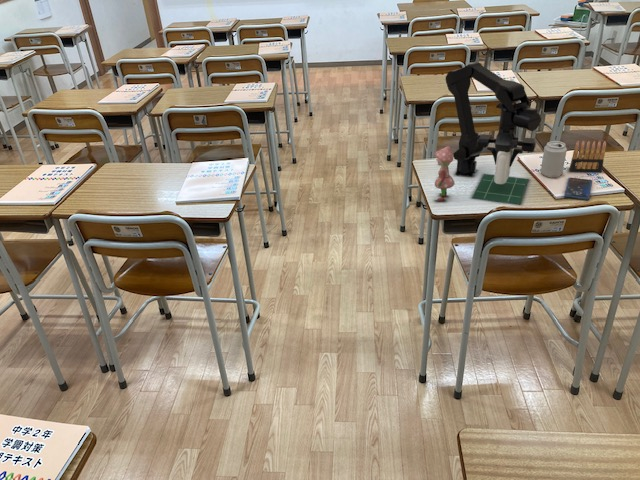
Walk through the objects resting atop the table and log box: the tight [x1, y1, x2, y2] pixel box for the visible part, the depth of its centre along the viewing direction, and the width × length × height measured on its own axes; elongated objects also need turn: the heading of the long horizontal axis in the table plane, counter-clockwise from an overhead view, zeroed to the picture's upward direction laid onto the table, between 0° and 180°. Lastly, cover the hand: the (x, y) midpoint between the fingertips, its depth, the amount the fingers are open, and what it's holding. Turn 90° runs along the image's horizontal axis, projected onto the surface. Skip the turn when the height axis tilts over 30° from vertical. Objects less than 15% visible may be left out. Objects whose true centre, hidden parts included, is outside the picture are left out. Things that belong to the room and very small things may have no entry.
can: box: [540, 140, 568, 178], centre depth 178 cm, size 8×8×12 cm
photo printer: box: [494, 148, 514, 184], centre depth 170 cm, size 10×4×12 cm, turn 152°
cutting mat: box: [471, 173, 529, 205], centre depth 175 cm, size 16×20×1 cm
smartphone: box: [564, 177, 593, 201], centre depth 169 cm, size 8×1×15 cm
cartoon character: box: [434, 145, 455, 202], centre depth 168 cm, size 10×7×20 cm
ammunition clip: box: [568, 140, 607, 173], centre depth 177 cm, size 11×2×12 cm, turn 75°
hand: (503, 165), depth 171 cm, fingers closed on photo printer, 4 cm apart
